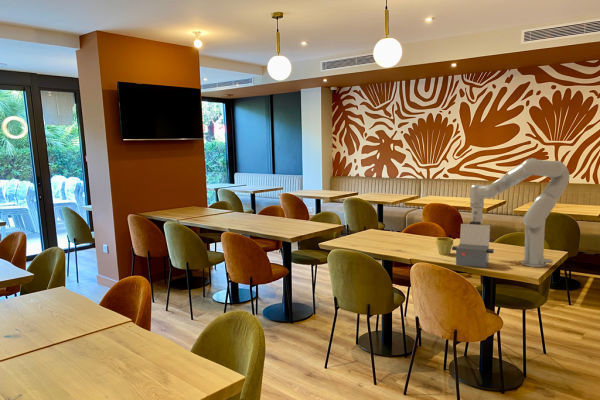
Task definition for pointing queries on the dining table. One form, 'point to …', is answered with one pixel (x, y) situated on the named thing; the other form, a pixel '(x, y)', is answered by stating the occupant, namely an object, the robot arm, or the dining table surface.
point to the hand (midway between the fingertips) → (476, 235)
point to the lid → (475, 234)
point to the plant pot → (444, 245)
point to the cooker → (472, 255)
